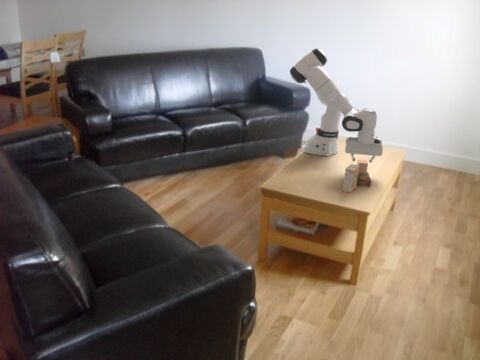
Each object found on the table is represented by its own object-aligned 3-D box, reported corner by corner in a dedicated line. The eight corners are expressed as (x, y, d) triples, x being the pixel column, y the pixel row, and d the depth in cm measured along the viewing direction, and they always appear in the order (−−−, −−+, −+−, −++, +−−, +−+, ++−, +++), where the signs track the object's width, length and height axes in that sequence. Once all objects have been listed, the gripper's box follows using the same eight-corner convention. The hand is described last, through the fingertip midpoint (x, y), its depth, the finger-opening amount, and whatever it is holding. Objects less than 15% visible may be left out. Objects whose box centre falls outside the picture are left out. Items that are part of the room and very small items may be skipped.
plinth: (349, 184, 261) (350, 177, 260) (347, 176, 271) (348, 170, 270) (369, 186, 260) (371, 179, 259) (367, 178, 270) (368, 171, 269)
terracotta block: (357, 174, 275) (358, 162, 273) (356, 170, 280) (357, 159, 277) (366, 174, 275) (367, 163, 272) (365, 171, 280) (366, 160, 277)
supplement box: (350, 193, 251) (354, 170, 246) (342, 191, 253) (345, 168, 248) (356, 188, 258) (359, 165, 252) (347, 186, 260) (351, 163, 255)
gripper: (346, 138, 267) (343, 161, 272) (384, 141, 265) (380, 165, 270) (346, 134, 273) (342, 157, 278) (383, 137, 270) (379, 161, 276)
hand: (361, 161), depth 274 cm, fingers open, 8 cm apart
